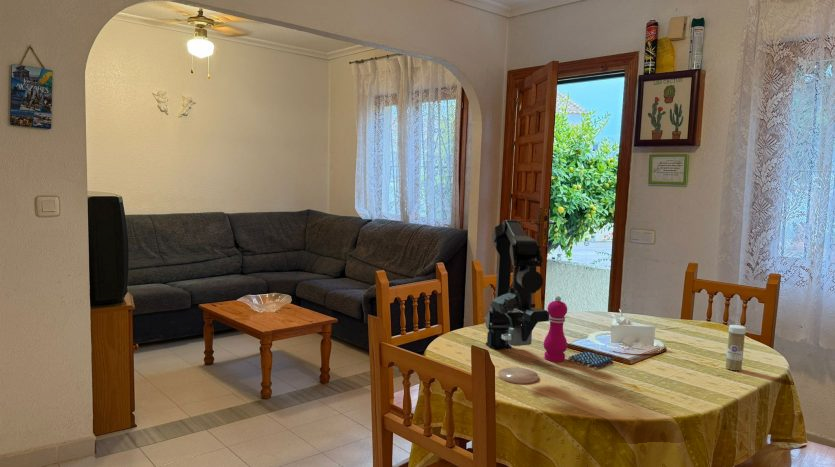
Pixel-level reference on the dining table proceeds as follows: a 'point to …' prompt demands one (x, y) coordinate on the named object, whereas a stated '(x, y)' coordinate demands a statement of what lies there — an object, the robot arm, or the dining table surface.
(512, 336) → the charcoal plug
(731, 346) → the sprinkles bottle
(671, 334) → the dining table surface
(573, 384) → the dining table surface
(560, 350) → the pepper mill
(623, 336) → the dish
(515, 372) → the terracotta coaster
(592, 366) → the woven mat
